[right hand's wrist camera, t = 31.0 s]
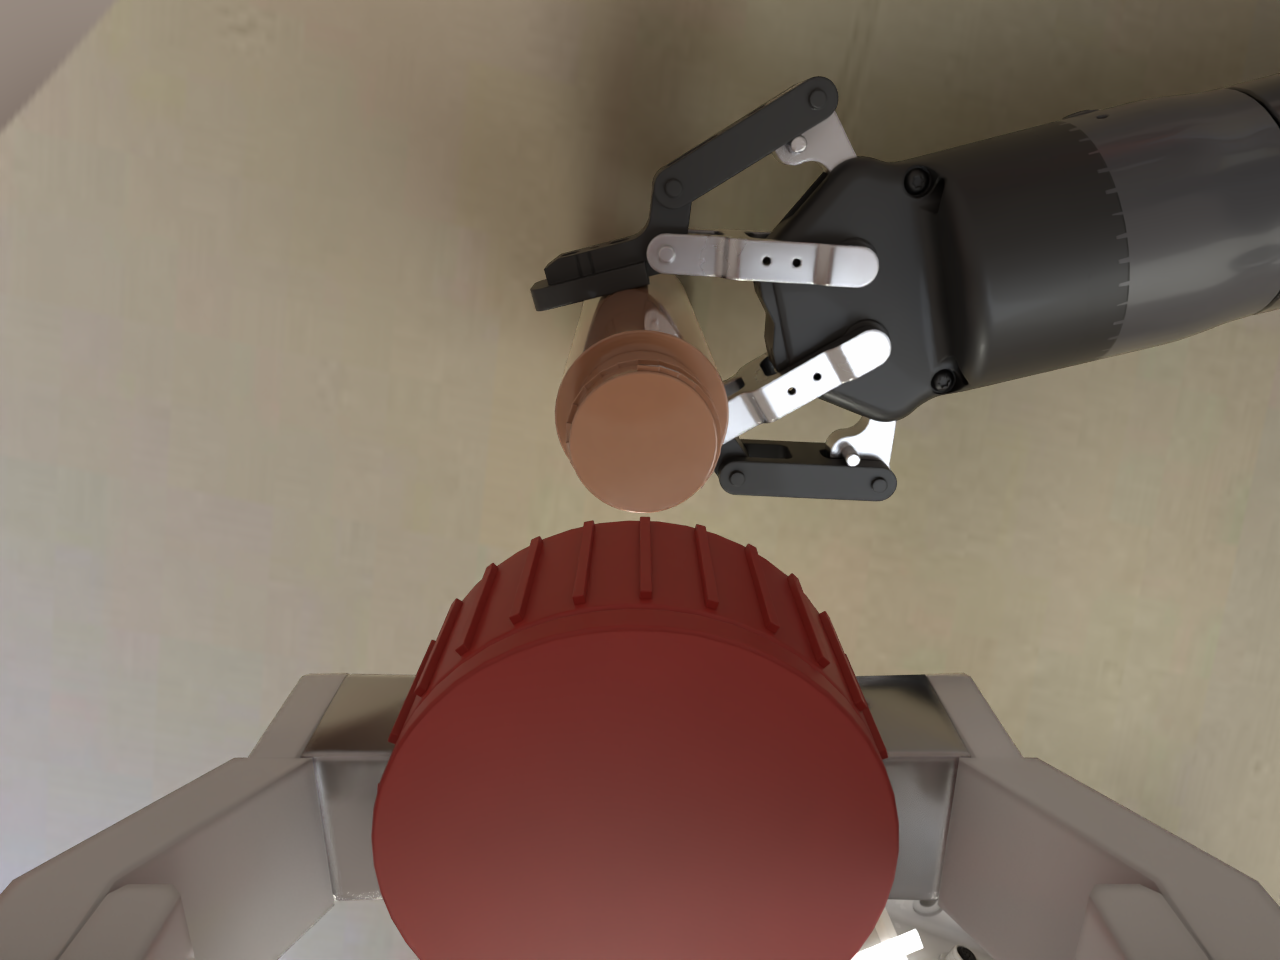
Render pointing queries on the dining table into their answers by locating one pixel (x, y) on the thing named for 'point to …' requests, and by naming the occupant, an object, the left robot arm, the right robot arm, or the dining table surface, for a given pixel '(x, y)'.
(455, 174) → the dining table surface
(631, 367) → the jar
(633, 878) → the lid
